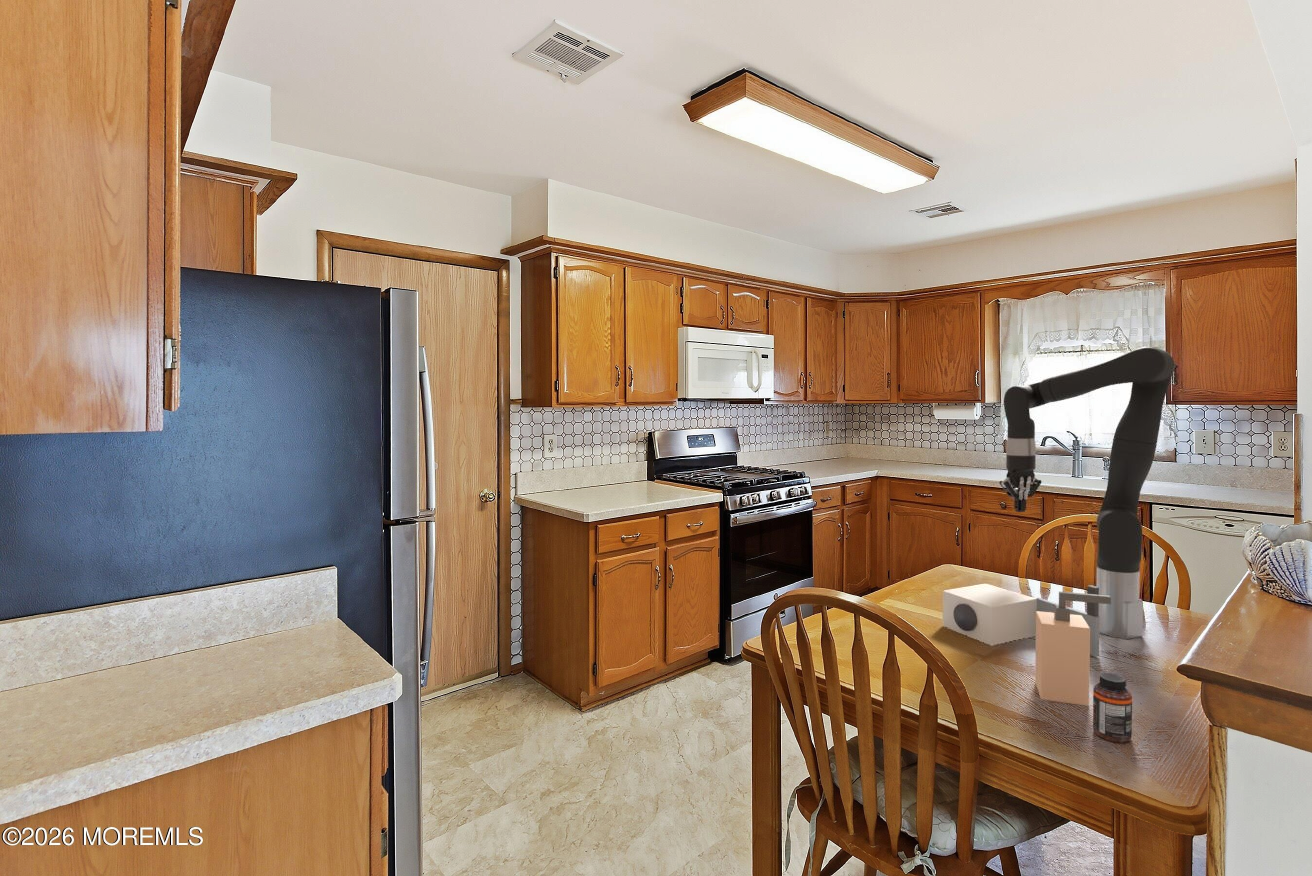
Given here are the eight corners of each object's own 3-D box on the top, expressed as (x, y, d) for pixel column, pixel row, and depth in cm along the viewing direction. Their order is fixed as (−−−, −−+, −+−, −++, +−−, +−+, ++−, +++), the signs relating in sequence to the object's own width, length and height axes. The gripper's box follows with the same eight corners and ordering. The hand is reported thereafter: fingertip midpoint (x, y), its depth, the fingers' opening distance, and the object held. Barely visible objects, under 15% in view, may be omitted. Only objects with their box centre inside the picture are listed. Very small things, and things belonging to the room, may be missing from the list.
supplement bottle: (1094, 724, 125) (1095, 667, 124) (1132, 734, 121) (1133, 675, 121) (1090, 737, 120) (1091, 678, 120) (1130, 747, 117) (1131, 686, 116)
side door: (1039, 633, 172) (1040, 571, 171) (1099, 656, 156) (1101, 588, 155) (1035, 634, 172) (1035, 572, 171) (1095, 657, 156) (1096, 588, 155)
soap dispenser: (1040, 699, 136) (1041, 596, 134) (1035, 682, 144) (1036, 585, 142) (1113, 709, 131) (1115, 602, 129) (1103, 692, 139) (1105, 590, 137)
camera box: (1036, 636, 171) (1036, 598, 170) (989, 646, 165) (989, 607, 164) (985, 617, 186) (985, 583, 185) (940, 626, 180) (940, 591, 179)
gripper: (1010, 455, 186) (1010, 515, 187) (1050, 453, 189) (1049, 512, 190) (992, 453, 193) (991, 511, 194) (1030, 451, 196) (1029, 508, 197)
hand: (1020, 511), depth 192 cm, fingers closed
